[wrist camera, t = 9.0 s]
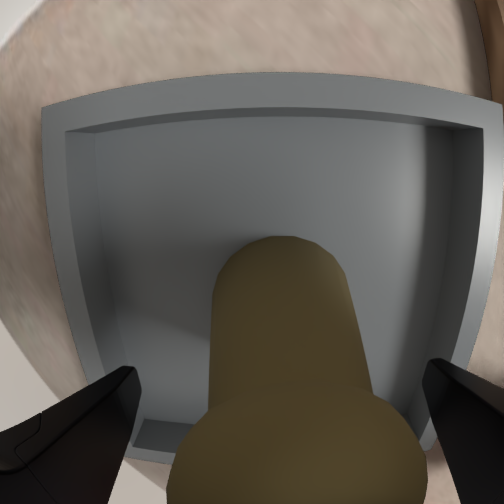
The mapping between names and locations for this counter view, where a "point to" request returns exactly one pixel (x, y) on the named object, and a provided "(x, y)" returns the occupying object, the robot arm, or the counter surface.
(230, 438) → the olive shaker
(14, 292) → the counter surface
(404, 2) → the counter surface
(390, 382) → the gray square tray
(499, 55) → the frame
